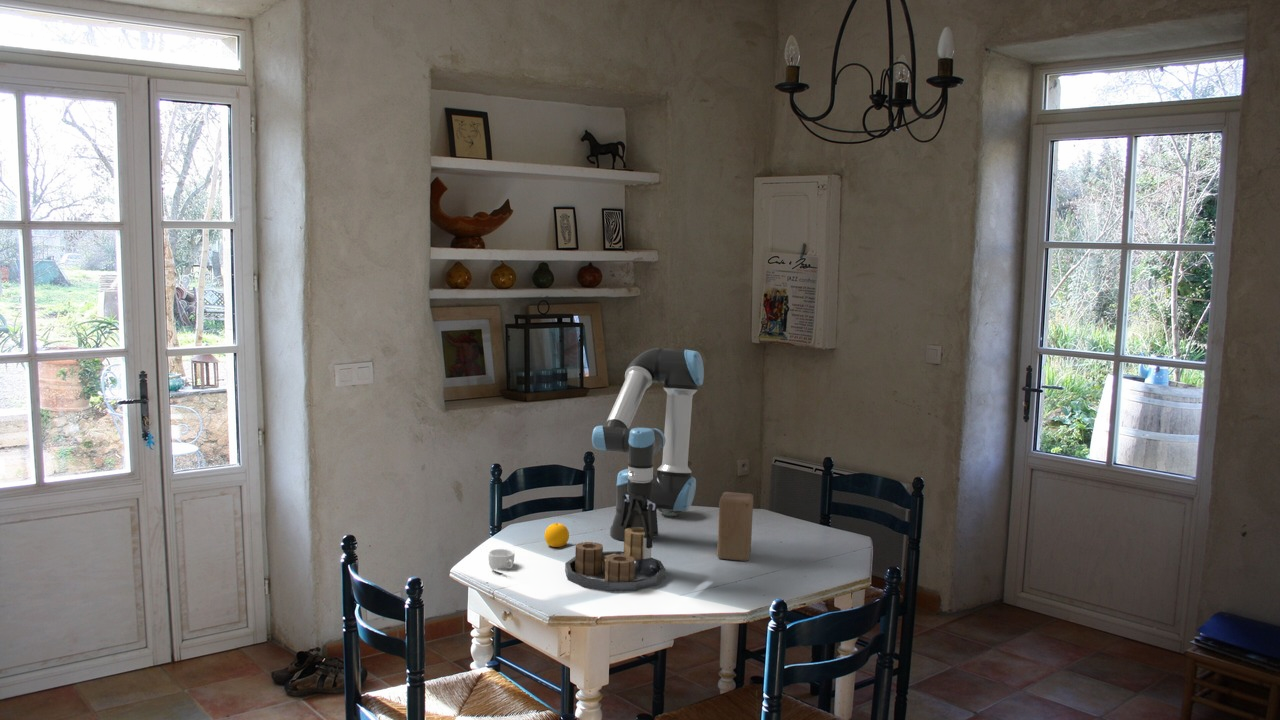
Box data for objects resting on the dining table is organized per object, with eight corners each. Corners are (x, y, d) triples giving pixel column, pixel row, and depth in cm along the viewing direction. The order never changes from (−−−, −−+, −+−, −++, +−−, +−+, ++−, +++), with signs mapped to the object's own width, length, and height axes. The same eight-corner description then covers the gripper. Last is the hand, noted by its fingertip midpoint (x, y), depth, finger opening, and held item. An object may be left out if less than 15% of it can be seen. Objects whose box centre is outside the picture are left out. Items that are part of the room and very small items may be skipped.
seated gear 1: (569, 570, 294) (570, 545, 293) (587, 564, 300) (588, 540, 299) (589, 576, 288) (589, 551, 288) (607, 570, 295) (608, 546, 294)
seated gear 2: (600, 585, 281) (601, 560, 280) (613, 577, 288) (613, 552, 287) (625, 590, 278) (626, 564, 277) (637, 582, 285) (638, 557, 284)
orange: (553, 550, 317) (554, 528, 316) (539, 544, 323) (540, 522, 322) (573, 546, 322) (574, 524, 322) (559, 540, 328) (559, 518, 327)
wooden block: (748, 562, 312) (750, 500, 310) (716, 559, 314) (719, 498, 312) (750, 553, 322) (753, 493, 319) (720, 550, 324) (723, 490, 321)
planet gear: (618, 553, 296) (619, 529, 296) (639, 549, 302) (639, 525, 301) (635, 560, 290) (636, 535, 290) (656, 556, 296) (657, 531, 295)
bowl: (649, 518, 360) (649, 496, 359) (654, 509, 373) (655, 488, 372) (686, 521, 358) (687, 499, 357) (690, 511, 371) (691, 491, 370)
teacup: (483, 568, 297) (483, 551, 296) (505, 564, 302) (505, 547, 301) (500, 577, 289) (501, 560, 289) (523, 573, 294) (523, 555, 294)
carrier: (546, 575, 293) (547, 548, 292) (622, 558, 312) (623, 533, 311) (606, 603, 271) (607, 575, 270) (684, 583, 290) (685, 557, 289)
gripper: (608, 474, 299) (606, 547, 302) (653, 488, 283) (650, 565, 286) (627, 472, 304) (625, 543, 306) (672, 485, 288) (669, 561, 290)
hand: (637, 554), depth 296 cm, fingers closed on planet gear, 8 cm apart
